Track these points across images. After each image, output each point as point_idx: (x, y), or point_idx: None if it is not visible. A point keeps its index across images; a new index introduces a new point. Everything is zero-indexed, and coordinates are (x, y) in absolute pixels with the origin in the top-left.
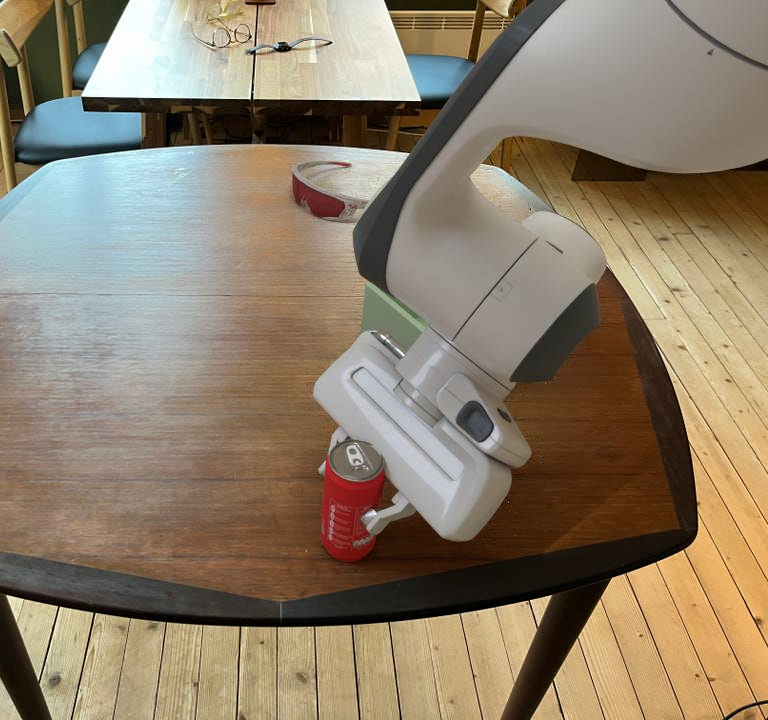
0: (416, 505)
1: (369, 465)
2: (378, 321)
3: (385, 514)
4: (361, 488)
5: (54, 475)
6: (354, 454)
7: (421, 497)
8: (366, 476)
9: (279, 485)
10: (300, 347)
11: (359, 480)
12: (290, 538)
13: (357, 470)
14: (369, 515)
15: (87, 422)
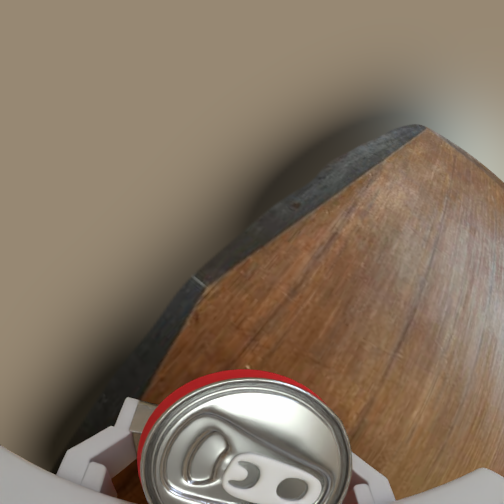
0: (14, 460)
1: (202, 497)
2: None
3: (105, 435)
4: (152, 414)
5: (448, 212)
6: (279, 487)
7: (4, 478)
8: (161, 452)
9: (360, 400)
10: None
11: (161, 418)
12: (278, 361)
13: (217, 456)
14: (144, 419)
15: (487, 262)
